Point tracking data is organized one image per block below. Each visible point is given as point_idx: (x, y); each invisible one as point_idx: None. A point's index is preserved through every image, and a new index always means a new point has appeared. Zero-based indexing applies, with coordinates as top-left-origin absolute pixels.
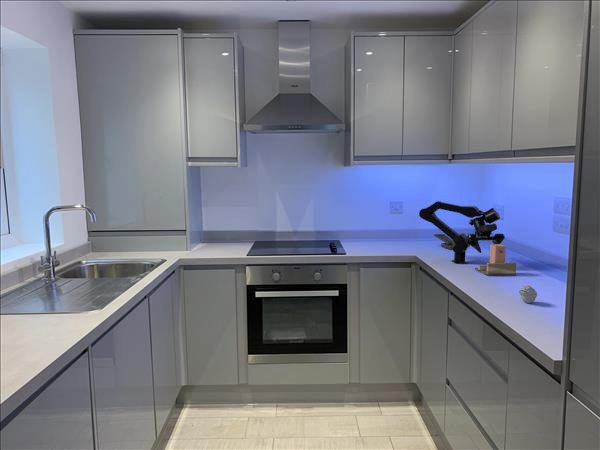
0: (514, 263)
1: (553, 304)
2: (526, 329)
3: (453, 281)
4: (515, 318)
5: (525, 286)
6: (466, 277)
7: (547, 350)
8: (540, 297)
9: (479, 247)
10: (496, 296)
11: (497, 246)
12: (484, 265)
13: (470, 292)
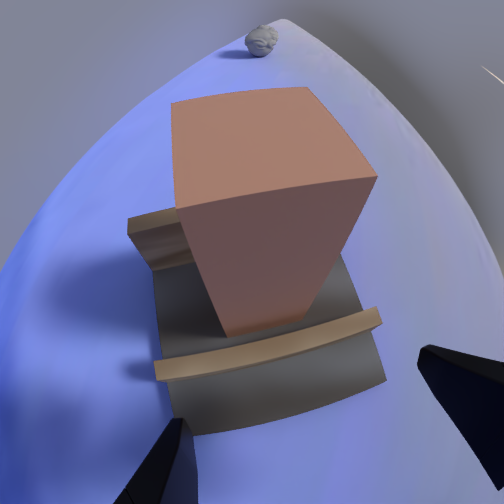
0: (142, 216)
1: (215, 56)
2: (292, 29)
3: (430, 152)
4: (298, 36)
5: (269, 26)
6: (410, 196)
7: (285, 20)
8: (218, 70)
9: (471, 364)
10: (314, 70)
11: (286, 91)
12: (340, 335)
13: (368, 86)
